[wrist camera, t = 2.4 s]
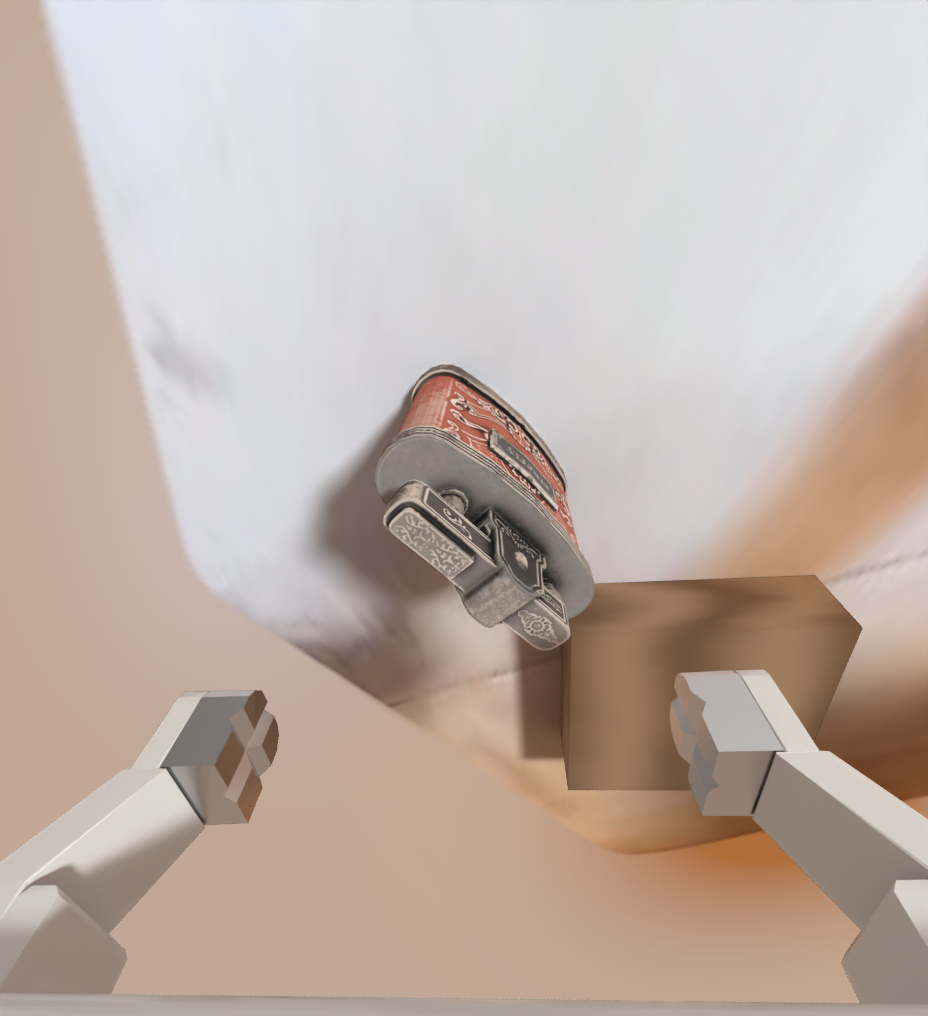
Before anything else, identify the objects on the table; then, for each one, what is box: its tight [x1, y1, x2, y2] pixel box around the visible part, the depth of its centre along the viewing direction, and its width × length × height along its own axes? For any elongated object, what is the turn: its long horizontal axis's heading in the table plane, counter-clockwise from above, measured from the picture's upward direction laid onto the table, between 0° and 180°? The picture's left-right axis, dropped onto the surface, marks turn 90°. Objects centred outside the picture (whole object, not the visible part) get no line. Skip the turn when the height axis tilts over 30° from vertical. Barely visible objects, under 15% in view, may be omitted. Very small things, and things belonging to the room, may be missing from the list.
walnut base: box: [561, 575, 862, 790], centre depth 25 cm, size 12×12×4 cm
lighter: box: [375, 364, 595, 651], centre depth 16 cm, size 8×3×10 cm, turn 46°
